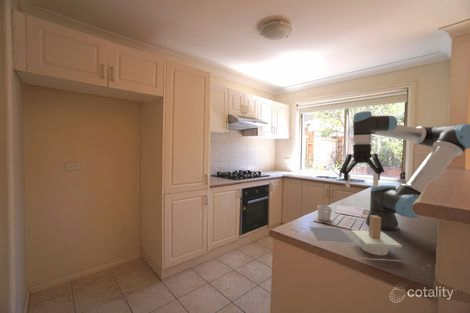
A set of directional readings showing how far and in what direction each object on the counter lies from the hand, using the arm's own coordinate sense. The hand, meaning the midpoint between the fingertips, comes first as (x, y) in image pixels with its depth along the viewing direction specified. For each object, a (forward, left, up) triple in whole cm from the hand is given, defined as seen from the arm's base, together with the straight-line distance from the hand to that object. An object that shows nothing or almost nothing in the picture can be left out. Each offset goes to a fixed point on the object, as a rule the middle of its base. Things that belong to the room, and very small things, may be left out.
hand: (361, 186), depth 104 cm
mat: (+15, 0, -25) cm, 29 cm away
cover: (+1, +15, -20) cm, 25 cm away
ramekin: (+1, +15, -25) cm, 29 cm away
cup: (+11, -21, -25) cm, 34 cm away
